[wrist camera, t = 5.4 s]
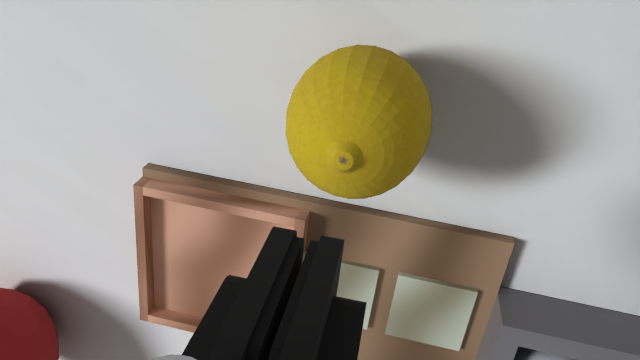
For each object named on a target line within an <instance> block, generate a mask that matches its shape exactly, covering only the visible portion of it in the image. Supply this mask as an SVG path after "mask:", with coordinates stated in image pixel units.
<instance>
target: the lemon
mask: <svg viewBox="0 0 640 360" xmlns="http://www.w3.org/2000/svg"><path fill="white" fill-rule="evenodd" d="M431 128H432V107H431V103H430V99H429V95H428V91H427V89H426V87H425V85H424V83H423V81H422V79H421V77H420V76H419V74H418V73H417V72H416V70H415V69H414V68H413V67H412V66H411V65H410V64H409V63H408V62H407V61H406V60H405V59H403V58H401V57H400V56H398V55H397V54H395V53H393V52H392V51H389V50H386V49H383V48H380V47H377V46H368V45H355V46H350V47H345V48H340V49H337V50H335V51H333V52H331V53H329V54H327V55H325V56H323V57H321V58H320V59H319V60H318V61H317V62H315V63H314V64H313V65H312V66H311V67H310V68H309V69H308V70H307V71H306V72H305V73H304V74H303V76H302V78H301V79H300V81H299V82H298V84H297V85H296V87H295V88H294V90H293V93H292V96H291V99H290V102H289V106H288V109H287V117H286V137H287V142H288V147H289V151H290V153H291V155H292V157H293V160H294V162H295V164H296V166H297V168H298V169H299V170H300V171H301V173H302V174H303V175H304V176H305V177H306V179H307V180H309V181H310V182H311V183H312V184H314V185H315V186H316V187H318V188H319V189H321V190H323V191H325V192H327V193H330V194H332V195H334V196H339V197H343V198H348V199H364V198H368V197H372V196H376V195H380V194H382V193H384V192H386V191H388V190H390V189H392V188H394V187H396V186H397V185H398V184H399V183H401V182H402V181H403V180H404V179H405V178H406V177H407V176H408V175H409V174H411V172H412V171H413V170H414V168H415V167H416V165H417V164H418V162H419V161H420V159H421V158H422V156H423V154H424V152H425V150H426V147H427V144H428V141H429V137H430V134H431Z"/></svg>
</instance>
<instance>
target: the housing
mask: <svg viewBox="0 0 640 360" xmlns="http://www.w3.org/2000/svg"><path fill="white" fill-rule="evenodd" d="M518 346H519V347H524V348H528V349H533V350H537V351H542V352H546V353H550V354H555V355H559V356H564V357H568V358H572V359H577V360H640V317H639V316H635V315H630V314H625V313H621V312H616V311H611V310H607V309H602V308H597V307H593V306H588V305H583V304H579V303H574V302H569V301H565V300H560V299H555V298H551V297H546V296H541V295H537V294H532V293H527V292H523V291H518V290H513V289H509V288H504V287H500V288H499V291H498V294H497V297H496V300H495V303H494V306H493V309H492V311H491V314H490V317H489V320H488V323H487V326H486V329H485V332H484V335H483V338H482V341H481V343H480V346H479V349H478V352H477V355H476V358H475V360H513V359H514V357H515V354H516V352H517V349H518Z"/></svg>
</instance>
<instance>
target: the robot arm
mask: <svg viewBox="0 0 640 360" xmlns="http://www.w3.org/2000/svg"><path fill="white" fill-rule="evenodd" d="M343 248H344V239H339V238H333V237H328V236H323V235H321V237H320V240H319V241H315V240H311V241H310V243H309V246H308V249H307V252H306V254H305V257H304V260H303V252H304V238H300V237H297V231H296V230H291V229H285V228H280V227H275V226H274V227H273V228H272V229H271V231H270V233H269V235H268V237H267V239H266V241H265V243H264V245H263V247H262V249H261V251H260V253H259V255H258V257H257V259H256V261H255V263H254V265H253V267H252V269H251V271H250V273H249V275H248V277H247V278H243V277H238V276H233V275H228V276H227V277H226V278H225V279H224V281H223V283H222V284H221V286H220V288H219V290H218V292H217V293H216V295H215V297H214V299H213V300H212V302H211V304H210V306H209V308H208V309H207V311H206V313H205V315H204V316H203V318H202V320H201V322H200V323H199V325H198V327H197V329H196V331H195V332H194V334H193V336H192V338H191V339H190V341H189V343H188V345H187V347H186V348H185V350H184V352H183V354H182V355H166V356H163V357H159V358H155V359H153V360H357V359H358V353H359V347H360V341H361V334H362V328H363V322H364V316H365V310H366V303H367V302H362V301H357V300H352V299H347V298H342V297H337V289H338V282H339V276H340V269H341V262H342V255H343ZM302 261H303V263H302Z"/></svg>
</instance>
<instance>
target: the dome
mask: <svg viewBox="0 0 640 360" xmlns="http://www.w3.org/2000/svg"><path fill="white" fill-rule="evenodd" d="M513 360H577V359H572V358H568V357H564V356H559V355H555V354H550V353H546V352H542V351H537V350H533V349H528V348H524V347H519V346H518V349H517V352H516V354H515V357H514V359H513Z"/></svg>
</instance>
